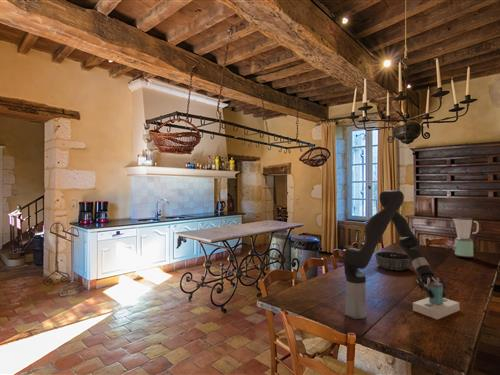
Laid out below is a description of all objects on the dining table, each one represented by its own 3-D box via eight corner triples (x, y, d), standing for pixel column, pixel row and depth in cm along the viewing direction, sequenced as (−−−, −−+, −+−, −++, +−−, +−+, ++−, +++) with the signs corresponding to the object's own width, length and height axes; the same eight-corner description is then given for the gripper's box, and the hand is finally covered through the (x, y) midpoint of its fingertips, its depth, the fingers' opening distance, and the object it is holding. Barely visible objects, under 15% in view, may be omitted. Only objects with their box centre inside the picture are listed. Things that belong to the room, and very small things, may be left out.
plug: (438, 313, 148) (437, 285, 148) (429, 309, 152) (428, 282, 152) (443, 311, 150) (442, 283, 150) (434, 308, 154) (433, 281, 154)
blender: (451, 257, 258) (451, 217, 258) (453, 254, 269) (452, 216, 268) (479, 260, 246) (478, 218, 246) (479, 257, 257) (478, 217, 257)
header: (437, 319, 141) (437, 310, 141) (413, 310, 151) (412, 302, 151) (459, 310, 150) (459, 302, 150) (435, 302, 161) (435, 294, 161)
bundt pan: (419, 268, 226) (419, 255, 226) (401, 275, 211) (400, 261, 211) (386, 261, 248) (386, 249, 248) (368, 267, 233) (368, 254, 233)
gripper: (412, 264, 158) (428, 295, 146) (438, 263, 159) (455, 293, 147) (406, 271, 163) (421, 301, 151) (431, 270, 164) (447, 300, 152)
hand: (438, 297), depth 149 cm, fingers closed on plug, 5 cm apart
